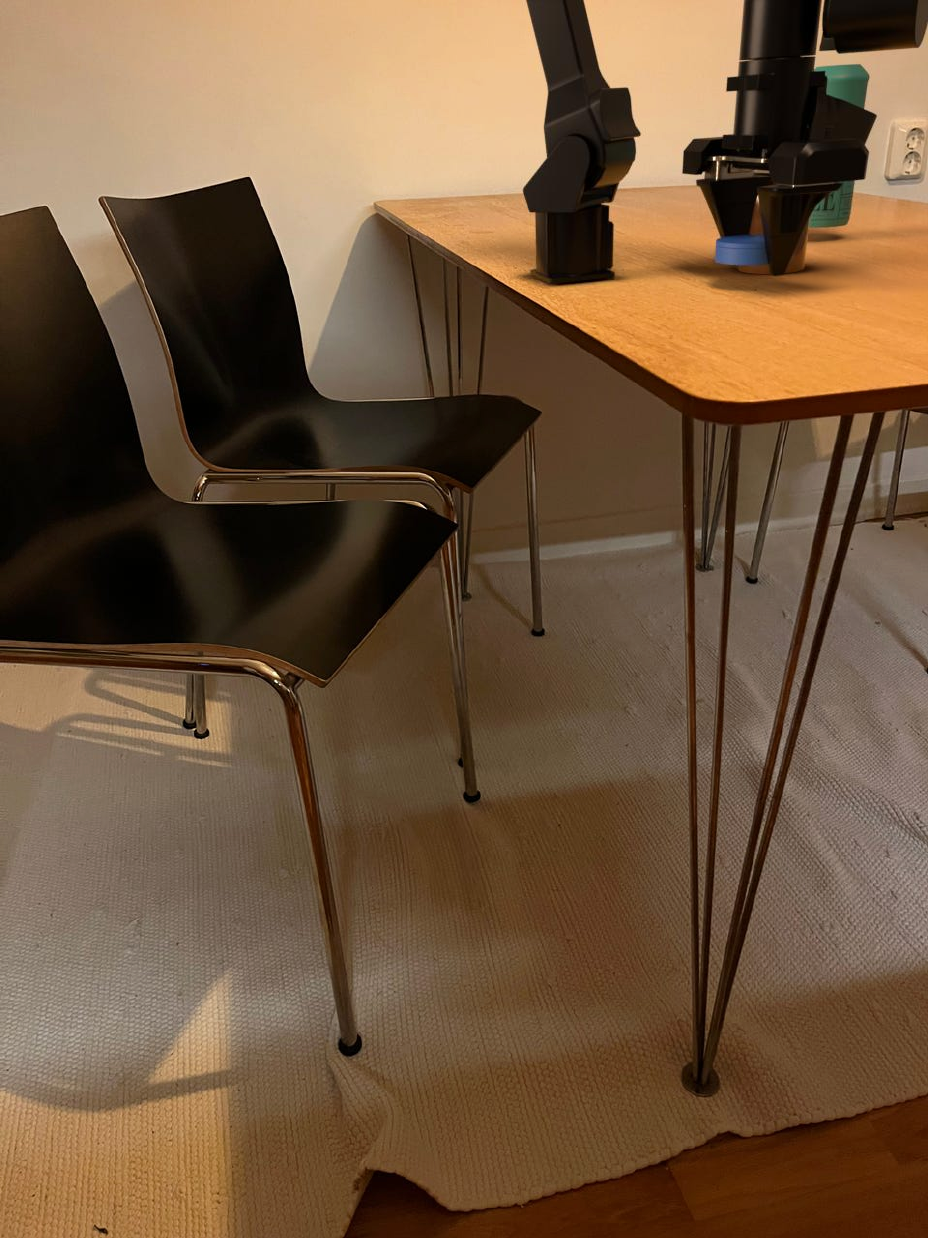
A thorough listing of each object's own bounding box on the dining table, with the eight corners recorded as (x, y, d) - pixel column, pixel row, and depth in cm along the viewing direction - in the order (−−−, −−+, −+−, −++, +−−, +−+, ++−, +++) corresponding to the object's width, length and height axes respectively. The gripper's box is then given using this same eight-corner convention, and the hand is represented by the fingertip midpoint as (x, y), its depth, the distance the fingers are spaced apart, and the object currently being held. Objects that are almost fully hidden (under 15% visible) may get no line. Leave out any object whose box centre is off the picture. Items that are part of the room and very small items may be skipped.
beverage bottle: (840, 233, 104) (868, 24, 95) (855, 241, 99) (887, 19, 89) (780, 235, 105) (802, 29, 95) (792, 244, 99) (817, 24, 90)
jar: (758, 276, 84) (768, 174, 80) (725, 267, 89) (733, 171, 85) (817, 270, 85) (829, 169, 81) (781, 261, 90) (791, 166, 86)
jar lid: (700, 259, 81) (701, 238, 80) (765, 252, 82) (767, 231, 82) (739, 267, 75) (741, 245, 75) (808, 260, 77) (811, 238, 76)
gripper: (949, 45, 65) (909, 276, 73) (800, 60, 81) (780, 248, 89) (811, 53, 63) (784, 290, 71) (685, 66, 79) (674, 259, 87)
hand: (756, 269), depth 79 cm, fingers closed on jar lid, 6 cm apart
